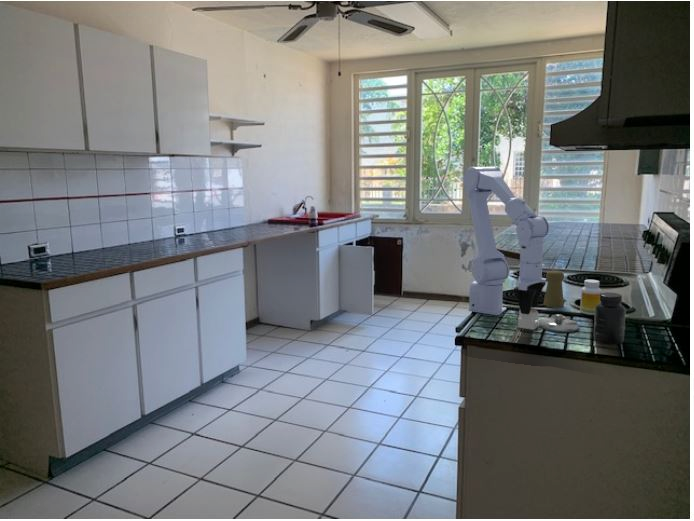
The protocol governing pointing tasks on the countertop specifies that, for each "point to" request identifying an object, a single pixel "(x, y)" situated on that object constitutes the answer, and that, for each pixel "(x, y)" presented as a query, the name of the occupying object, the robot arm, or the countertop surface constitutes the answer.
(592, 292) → the supplement bottle
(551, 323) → the knobbed pot lid
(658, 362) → the countertop surface
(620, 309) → the supplement bottle
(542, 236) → the robot arm
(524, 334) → the countertop surface
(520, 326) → the white faceted lump
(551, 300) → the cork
